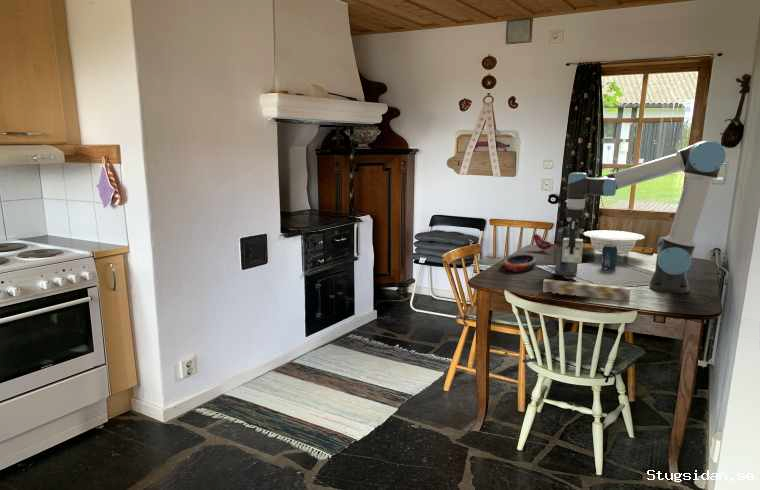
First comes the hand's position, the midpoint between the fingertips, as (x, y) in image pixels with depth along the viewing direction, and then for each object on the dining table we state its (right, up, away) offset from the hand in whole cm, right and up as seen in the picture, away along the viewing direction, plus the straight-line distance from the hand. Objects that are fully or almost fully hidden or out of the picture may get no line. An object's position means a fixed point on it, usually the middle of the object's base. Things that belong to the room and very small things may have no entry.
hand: (571, 259), depth 234 cm
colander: (+45, 0, +61) cm, 76 cm away
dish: (-13, -5, +39) cm, 41 cm away
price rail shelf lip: (+1, -15, -12) cm, 19 cm away
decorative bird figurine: (+12, +2, +75) cm, 76 cm away
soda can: (+32, -6, +35) cm, 47 cm away
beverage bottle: (+5, -8, +23) cm, 25 cm away
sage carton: (0, -1, 0) cm, 1 cm away
